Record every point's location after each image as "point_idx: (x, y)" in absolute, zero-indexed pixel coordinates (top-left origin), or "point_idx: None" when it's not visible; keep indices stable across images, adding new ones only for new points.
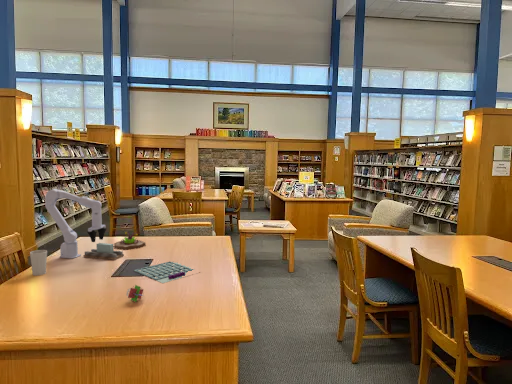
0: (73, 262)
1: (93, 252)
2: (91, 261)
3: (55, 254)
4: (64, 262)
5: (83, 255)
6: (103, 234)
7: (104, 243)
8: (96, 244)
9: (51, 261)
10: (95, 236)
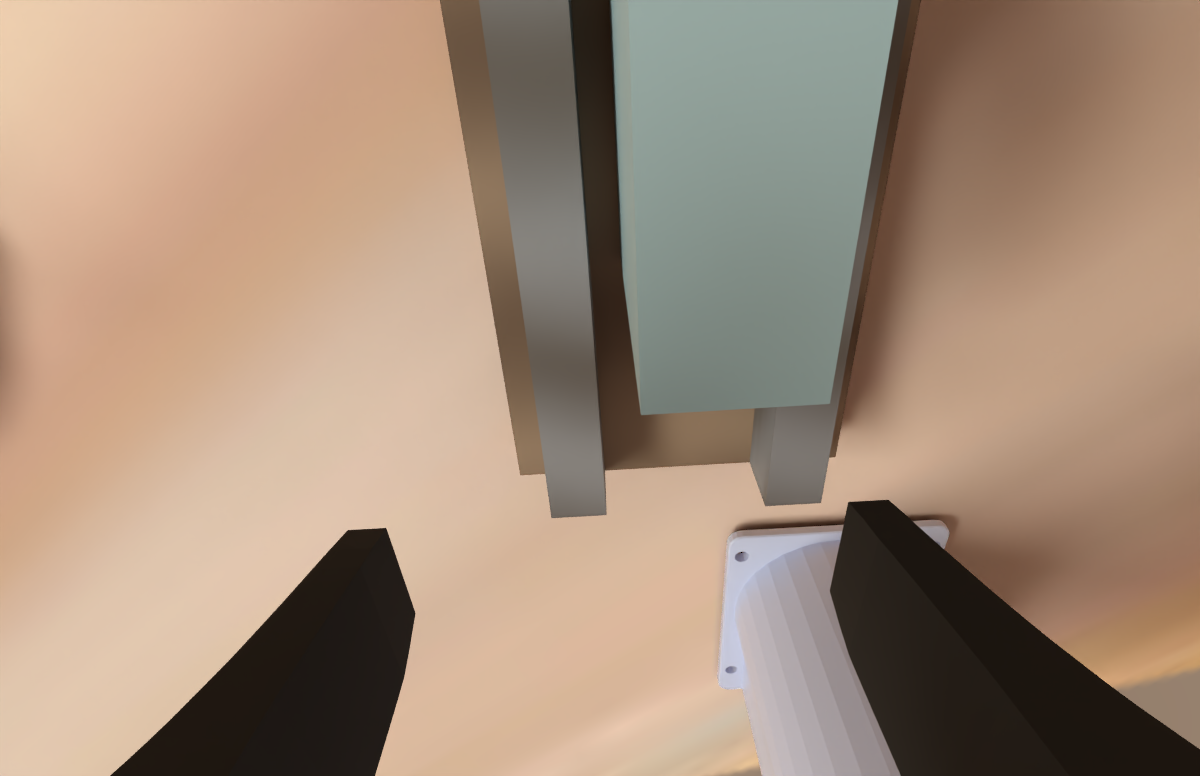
0: (1195, 355)
1: (848, 300)
2: (1159, 47)
3: (754, 765)
4: (1172, 476)
5: (835, 454)
6: (224, 727)
7: (668, 155)
8: (820, 392)
9: (1091, 633)
10: (1041, 714)
